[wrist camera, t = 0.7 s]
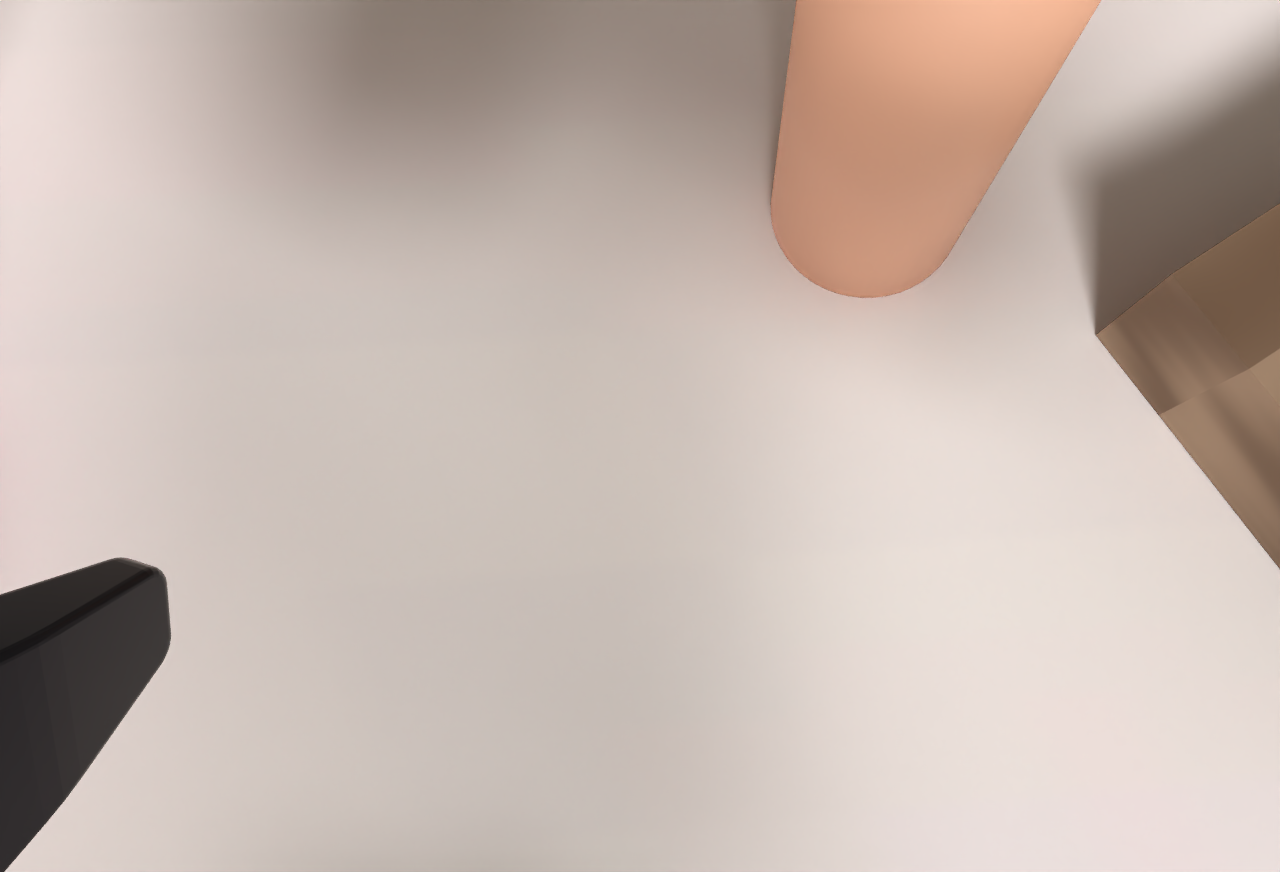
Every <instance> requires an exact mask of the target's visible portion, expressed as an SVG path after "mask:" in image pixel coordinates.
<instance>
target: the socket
mask: <svg viewBox="0 0 1280 872" xmlns="http://www.w3.org/2000/svg"><path fill="white" fill-rule="evenodd" d="M1096 336H1097V337H1098V339H1099V340H1100V341H1101V342H1102V344H1103V345H1104V346H1105V348H1106V349H1107V350H1108V351H1109V353H1110V354H1111V355H1112V356H1113V358H1114V359H1115V360H1116V362H1117V363H1118V364H1119V365H1120V367H1121V368H1122V369H1123V370H1124V372H1125V373H1126V374H1127V375H1128V377H1129V378H1130V379H1131V381H1132V382H1133V383H1134V384H1135V386H1136V387H1137V388H1138V389H1139V391H1140V392H1141V393H1142V395H1143V396H1144V397H1145V398H1146V400H1147V401H1148V402H1149V403H1150V405H1151V406H1152V407H1153V408H1154V410H1155V411H1156V412H1157V414H1158V415H1159V416H1160V417H1161V419H1162V420H1163V421H1164V422H1165V424H1166V425H1167V426H1168V428H1169V429H1170V430H1171V431H1172V433H1173V434H1174V435H1175V436H1176V438H1177V439H1178V440H1179V441H1180V443H1181V444H1182V445H1183V447H1184V448H1185V449H1186V450H1187V452H1188V453H1189V454H1190V455H1191V457H1192V458H1193V459H1194V461H1195V462H1196V463H1197V464H1198V466H1199V467H1200V468H1201V469H1202V471H1203V472H1204V473H1205V474H1206V476H1207V477H1208V478H1209V480H1210V481H1211V482H1212V483H1213V485H1214V486H1215V487H1216V488H1217V490H1218V491H1219V492H1220V494H1221V495H1222V496H1223V497H1224V499H1225V500H1226V501H1227V502H1228V504H1229V505H1230V506H1231V507H1232V509H1233V510H1234V511H1235V513H1236V514H1237V515H1238V516H1239V518H1240V519H1241V520H1242V521H1243V523H1244V524H1245V525H1246V527H1247V528H1248V529H1249V530H1250V532H1251V533H1252V534H1253V535H1254V537H1255V538H1256V539H1257V540H1258V542H1259V543H1260V544H1261V546H1262V547H1263V548H1264V549H1265V551H1266V552H1267V553H1268V554H1269V556H1270V557H1271V558H1272V560H1273V561H1274V562H1275V563H1276V565H1277V566H1278V567H1279V568H1280V203H1279V204H1278V205H1276V206H1275V207H1273V208H1272V209H1270V210H1269V211H1267V212H1266V213H1264V214H1263V215H1261V216H1260V217H1258V218H1257V219H1255V220H1253V221H1252V222H1250V223H1249V224H1247V225H1246V226H1244V227H1243V228H1241V229H1240V230H1238V231H1237V232H1235V233H1234V234H1232V235H1231V236H1229V237H1227V238H1226V239H1224V240H1223V241H1221V242H1220V243H1218V244H1217V245H1215V246H1214V247H1212V248H1211V249H1209V250H1208V251H1206V252H1205V253H1203V254H1201V255H1200V256H1198V257H1197V258H1195V259H1194V260H1192V261H1191V262H1189V263H1188V264H1186V265H1185V266H1183V267H1182V268H1180V269H1179V270H1177V271H1175V272H1174V273H1172V274H1171V275H1170V276H1169V277H1167V278H1166V279H1165V280H1164V281H1162V282H1161V283H1160V284H1159V285H1157V286H1156V287H1155V288H1154V289H1152V290H1151V291H1150V292H1149V293H1148V294H1146V295H1145V296H1144V297H1143V298H1141V299H1140V300H1139V301H1138V302H1136V303H1135V304H1134V305H1133V306H1131V307H1130V308H1129V309H1128V310H1126V311H1125V312H1124V313H1123V314H1121V315H1120V316H1119V317H1118V318H1117V319H1115V320H1114V321H1113V322H1112V323H1110V324H1109V325H1108V326H1107V327H1105V328H1104V329H1103V330H1102V331H1100V332H1099V333H1098V334H1097V335H1096Z"/></svg>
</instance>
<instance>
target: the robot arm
mask: <svg viewBox="0 0 1280 872" xmlns="http://www.w3.org/2000/svg"><path fill="white" fill-rule="evenodd" d="M170 640H171V628H170V616H169V603H168V591H167V581H166V577H165V576H164V574H163V572H162V571H161V570H159V569H158V568H156V567H153V566H150V565H147V564H144V563H141V562H138V561H135V560H132V559H128V558H114V559H110V560H107V561H104V562H100V563H97V564H94V565H91V566H88V567H85V568H82V569H79V570H76V571H72V572H69V573H66V574H63V575H60V576H57V577H54V578H51V579H48V580H44V581H41V582H38V583H35V584H32V585H29V586H26V587H23V588H20V589H17V590H13V591H10V592H7V593H4V594H1V595H0V872H4V871H5V870H6V869H7V868H8V867H9V866H10V864H11V863H12V862H13V861H14V860H15V859H16V857H17V856H18V855H19V854H20V853H21V852H22V850H23V849H24V848H25V847H26V846H27V845H28V843H29V842H30V841H31V840H32V839H33V838H34V836H35V835H36V834H37V833H38V832H39V831H40V829H41V828H42V827H43V826H44V825H45V824H46V822H47V821H48V820H49V819H50V818H51V816H52V815H53V814H54V813H55V811H56V810H57V809H58V808H59V807H60V805H61V804H62V803H63V802H64V801H65V799H66V798H67V797H68V795H69V794H70V793H71V791H72V790H73V789H74V787H75V786H76V785H77V783H78V782H79V780H80V779H81V778H82V776H83V775H84V774H85V772H86V771H87V769H88V768H89V766H90V765H91V764H92V762H93V761H94V759H95V758H96V756H97V755H98V754H99V752H100V751H101V749H102V748H103V746H104V745H105V744H106V742H107V741H108V739H109V738H110V737H111V735H112V734H113V732H114V731H115V729H116V728H117V727H118V725H119V724H120V722H121V721H122V719H123V718H124V717H125V715H126V714H127V712H128V711H129V709H130V708H131V707H132V705H133V704H134V702H135V701H136V699H137V698H138V697H139V695H140V694H141V692H142V691H143V689H144V688H145V687H146V685H147V684H148V682H149V681H150V679H151V678H152V677H153V675H154V674H155V672H156V671H157V670H158V668H159V667H160V665H161V664H162V662H163V660H164V658H165V656H166V654H167V652H168V649H169V646H170Z"/></svg>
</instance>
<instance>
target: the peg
mask: <svg viewBox="0 0 1280 872" xmlns="http://www.w3.org/2000/svg"><path fill="white" fill-rule="evenodd" d="M1100 1H1101V0H796V7H795V15H794V23H793V31H792V39H791V47H790V54H789V62H788V70H787V78H786V86H785V94H784V102H783V110H782V118H781V126H780V134H779V142H778V150H777V158H776V166H775V174H774V182H773V190H772V197H771V219H772V226H773V230H774V233H775V236H776V239H777V241H778V243H779V246H780V248H781V249H782V251H783V253H784V254H785V256H786V257H787V259H788V260H789V261H790V262H791V264H792V265H793V266H794V267H795V268H796V269H797V270H798V271H799V272H800V273H801V274H802V275H803V276H805V277H806V278H808V279H809V280H810V281H812V282H813V283H815V284H817V285H819V286H821V287H823V288H824V289H827V290H830V291H832V292H835V293H838V294H842V295H846V296H852V297H860V298H874V297H882V296H888V295H892V294H896V293H899V292H902V291H904V290H907V289H909V288H911V287H913V286H915V285H917V284H919V283H920V282H922V281H923V280H925V279H926V278H927V277H929V276H930V275H931V274H932V273H933V272H934V271H935V270H936V269H937V268H938V267H940V265H941V264H942V263H943V261H944V260H945V259H946V258H947V256H948V255H949V253H950V251H951V250H952V248H953V246H954V245H955V243H956V241H957V240H958V238H959V236H960V235H961V233H962V231H963V230H964V228H965V226H966V225H967V223H968V221H969V220H970V218H971V216H972V215H973V213H974V211H975V210H976V208H977V206H978V205H979V203H980V201H981V200H982V198H983V196H984V195H985V193H986V191H987V190H988V188H989V186H990V185H991V183H992V181H993V180H994V178H995V176H996V175H997V173H998V171H999V170H1000V168H1001V166H1002V165H1003V163H1004V161H1005V160H1006V158H1007V156H1008V155H1009V153H1010V151H1011V150H1012V148H1013V146H1014V145H1015V143H1016V141H1017V140H1018V138H1019V136H1020V135H1021V133H1022V131H1023V130H1024V128H1025V126H1026V125H1027V123H1028V121H1029V120H1030V118H1031V116H1032V115H1033V113H1034V111H1035V110H1036V108H1037V106H1038V105H1039V103H1040V101H1041V100H1042V98H1043V96H1044V95H1045V93H1046V91H1047V90H1048V88H1049V86H1050V85H1051V83H1052V81H1053V80H1054V78H1055V76H1056V75H1057V73H1058V71H1059V70H1060V68H1061V66H1062V65H1063V63H1064V61H1065V60H1066V58H1067V56H1068V55H1069V53H1070V51H1071V50H1072V48H1073V46H1074V45H1075V43H1076V41H1077V40H1078V38H1079V36H1080V35H1081V33H1082V31H1083V30H1084V28H1085V26H1086V25H1087V23H1088V21H1089V20H1090V18H1091V16H1092V15H1093V13H1094V11H1095V10H1096V8H1097V6H1098V5H1099V3H1100Z"/></svg>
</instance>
